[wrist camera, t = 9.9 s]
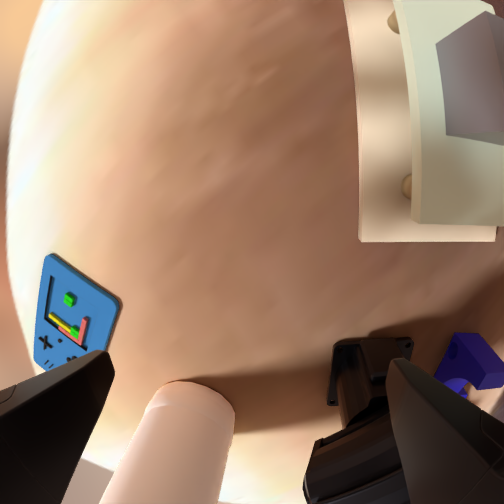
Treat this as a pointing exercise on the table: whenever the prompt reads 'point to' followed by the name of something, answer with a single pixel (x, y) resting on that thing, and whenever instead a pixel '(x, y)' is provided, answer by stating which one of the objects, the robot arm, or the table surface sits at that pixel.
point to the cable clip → (470, 364)
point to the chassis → (388, 133)
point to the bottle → (176, 449)
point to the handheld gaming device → (70, 315)
